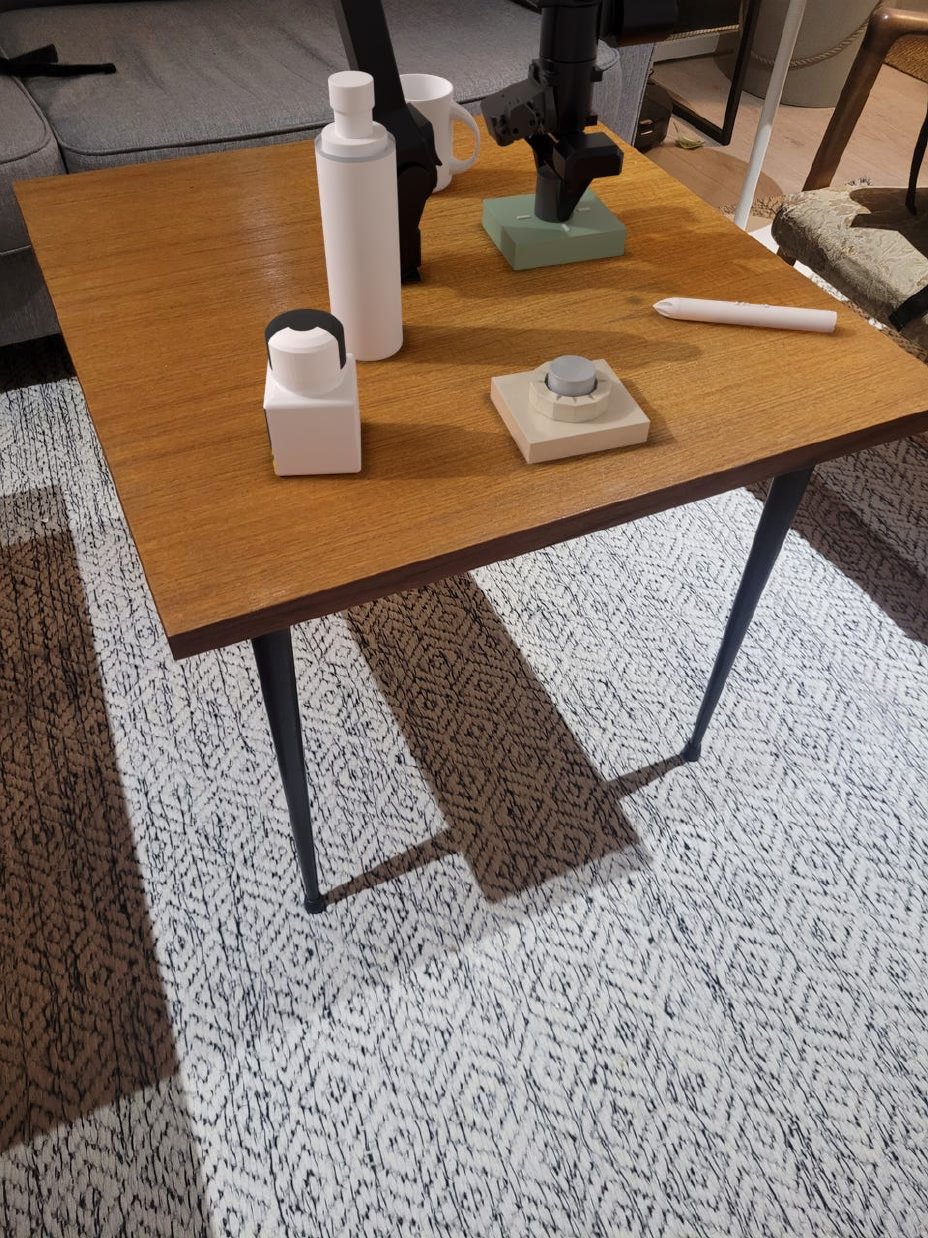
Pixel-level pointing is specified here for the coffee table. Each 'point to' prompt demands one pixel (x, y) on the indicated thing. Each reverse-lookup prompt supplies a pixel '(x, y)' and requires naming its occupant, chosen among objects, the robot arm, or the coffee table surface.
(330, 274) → the white bottle
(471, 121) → the mug
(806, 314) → the marker
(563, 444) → the button housing
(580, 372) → the gray button cap
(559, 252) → the dial panel
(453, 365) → the coffee table surface
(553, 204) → the dial
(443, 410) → the coffee table surface
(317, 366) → the medicine bottle
